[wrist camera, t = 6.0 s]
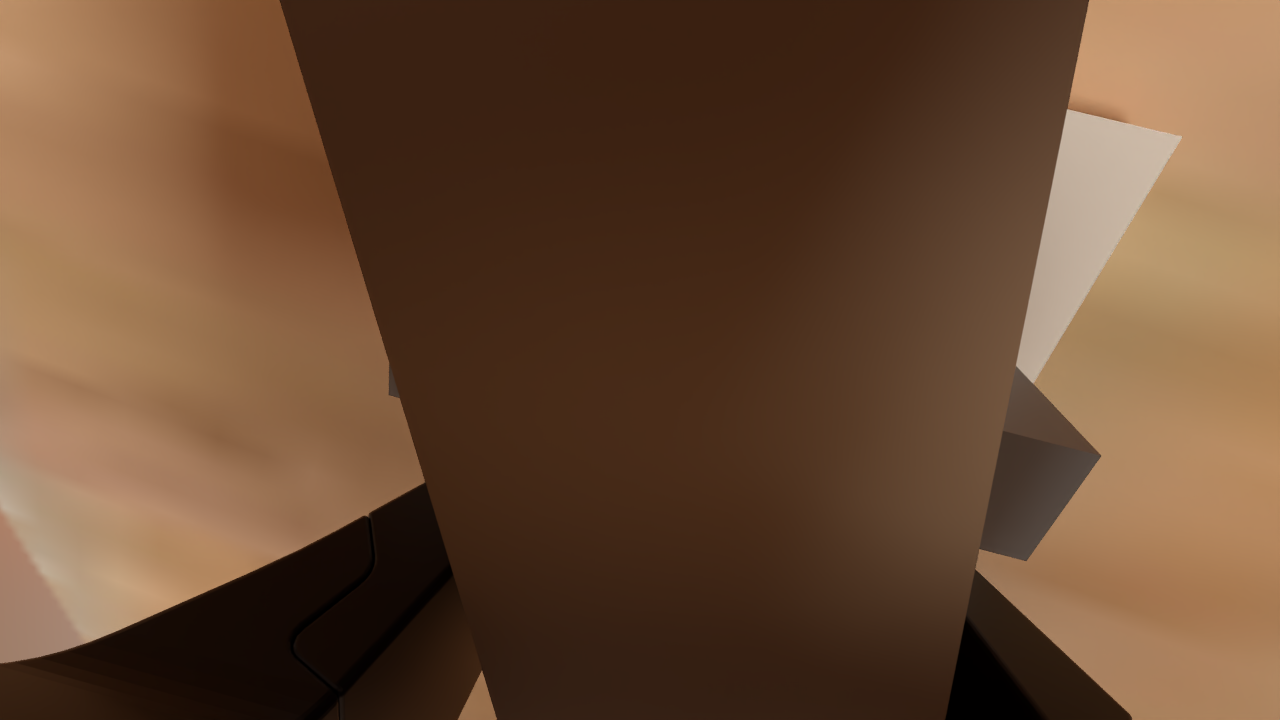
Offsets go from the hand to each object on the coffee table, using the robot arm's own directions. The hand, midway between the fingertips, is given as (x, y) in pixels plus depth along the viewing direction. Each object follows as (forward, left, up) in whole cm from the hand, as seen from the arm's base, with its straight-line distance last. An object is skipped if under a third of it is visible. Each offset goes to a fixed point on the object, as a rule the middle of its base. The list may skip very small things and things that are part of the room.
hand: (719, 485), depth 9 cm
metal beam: (0, 0, -1) cm, 1 cm away
